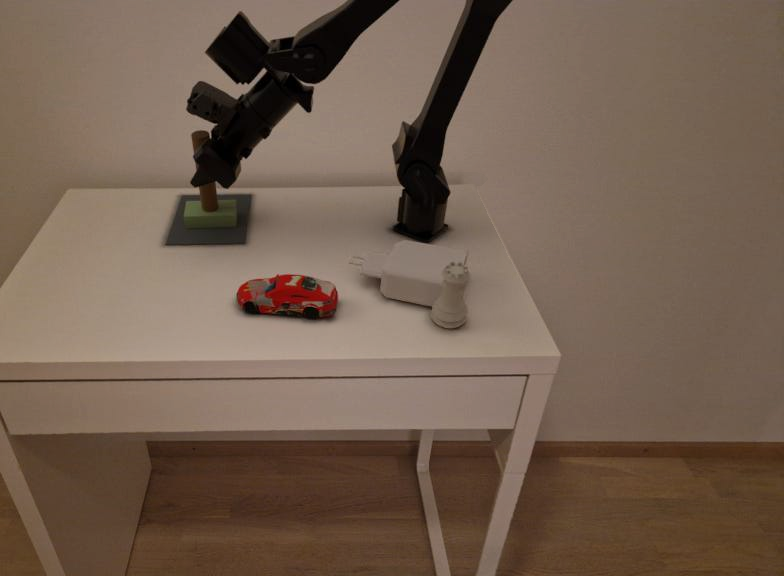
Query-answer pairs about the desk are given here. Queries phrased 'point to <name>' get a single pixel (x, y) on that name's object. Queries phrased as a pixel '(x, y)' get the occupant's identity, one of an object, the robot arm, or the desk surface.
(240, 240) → the mat
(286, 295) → the race car
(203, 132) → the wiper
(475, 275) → the desk surface
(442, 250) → the charger
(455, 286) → the rook chess piece
